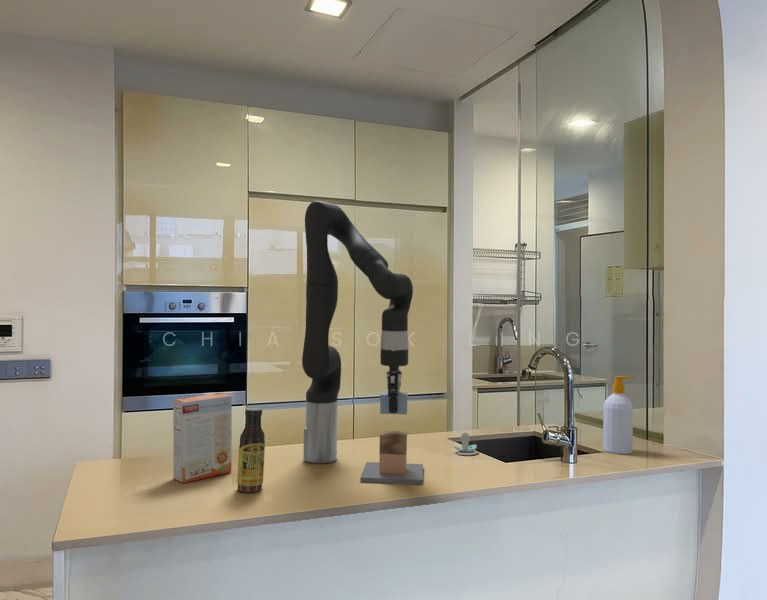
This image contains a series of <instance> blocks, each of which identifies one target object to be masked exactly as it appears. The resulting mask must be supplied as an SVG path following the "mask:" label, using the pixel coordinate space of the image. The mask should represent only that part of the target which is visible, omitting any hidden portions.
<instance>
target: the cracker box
mask: <svg viewBox="0 0 767 600" xmlns="http://www.w3.org/2000/svg"><path fill="white" fill-rule="evenodd" d="M232 398H233V397H232V395H229V394H225V393H217V394H215V393H214V394H206V395H197V396H190V397H184V398H177V399H175V398H174V399H173V402H172V403H173V407H172V408H173V410H172V411H173V415H172V416H173V420H172V421H173V422H172V423H173V428H172V429H173V430H172V432H173V435H172V436H173V448H172V449H173V451H172V454H173V463H172V464H173V467H172V469H173V476H172V477H173V479H174V480H176V481H177V482H179V483H182V484H186V483H191V482H194V481H200V480H202V479H208V478H211V477H212V478H213V477H216V476H220V475H225V474H229V473H231V472H232V440H233V439H232V435H233V434H232V424H233V423H232V419H233V418H232V415H233V414H232V400H233V399H232Z"/></svg>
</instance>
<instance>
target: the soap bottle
mask: <svg viewBox="0 0 767 600" xmlns="http://www.w3.org/2000/svg"><path fill="white" fill-rule="evenodd" d="M627 379H634V380H635V379H636V377H635V376H629V375H627V376H626V375H624V376H621V375H615V376H614V382H613V384H612V391H611V392H612V394H610V395H608V397H606V399H605V400H604V404H603V421H602V422H603V423H602V424H603V431H602V432H603V434H602V435H603V438H602V440H603V441H602V442H603V443H602V448H603V449H602V450H604V451H605V452H607V453H612V454H617V455H628V454H629V455H630V454H632V452H633V435H634V433H633V429H634V424H633V423H634V417H633V416H634V407H633V403H632V401H631V400H630V398H628V396H626V395H625V385H624V382H623V380H627Z"/></svg>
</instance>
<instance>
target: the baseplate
mask: <svg viewBox="0 0 767 600" xmlns="http://www.w3.org/2000/svg"><path fill="white" fill-rule="evenodd" d="M407 452H408V450H407V451H406V455H396V454H380V453H379V461H378V462H377V461H376V462H375V461H374V462H373V461H365V465H364V467H363V470H362V472H361V475H360V481H359V482H360V483H372V484H373V483H377V484H395V483H396V484H397V485H398V484H399V485H400V484H401V485H403V484H404V485H420V484H422V485H423V480H424V478H423V477H424V476H423V475H424V464H423V463H408V462H407V458H408V457H407V456H408V455H407V454H408V453H407Z"/></svg>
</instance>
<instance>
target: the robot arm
mask: <svg viewBox="0 0 767 600" xmlns="http://www.w3.org/2000/svg"><path fill="white" fill-rule="evenodd" d="M304 230H305V231H304V232H305V241H306V242H305V243H306V244H305V245H306V282H305V284H306V286H305V291H306V292H305V299H306V300H305V330H304V331H305V333H304V334H305V335H304V341H303V348H302V349H303V350H302V357H301V365H302V370H303V372H304V373H305V375H306V376H308V378H309V379H311V384H310V386H309V388H308V389H307V391H306V393H305V427H304V428H303V459H302V460H303V462H307V463H312V464H327V463H328V464H329V463H333V462H335V461H336V460H337V459H338V396H339V393H340V390H341V379H342V378H341V377H342V361H341V360H342V358H341V355H340V353H339V351H338V349H336V348H335V347H334V346H332V345H329V344H330V343H329V334H330V327H331V323H332V320H333V318H334V315H335V311H336V309H337V305H338V300H339V299H338V298H339V297H338V295H339V286H338V285H339V279H338V275H337V272H336V269H335V266H334V264H333V262H332V259H331V256H330V253H329V246H328V244H329V243H328V238H329V236H332V237H334V238H335V239H336V240H338V241H339V242H340V243H341V244H342V245H343V246H344V248H345V249H346V250H347V253H348V256H349V258H350V260H351V261H352V263H353V264H354V265H355V266H356V267H357V268H358V269H359V270H360V271H361V273H363V274H364V276H366V277H367V278H368V281H369V282H370V284H371V286H372V287H373V288H374V290H375V292H376V293H377V294H378V295H379V296H380V297H382V298H383V299H385V300H389V305H388V307H387V308H385V309H383V312H382V313H381V333H380V365H382V366H383V367H384V366H385V367H388V369H389V370H388V371H387V372H386V375H385V376H386V389H387V392H388V397H389V412H390V413H397V405H398V392H401V391H400V390H401V386H402V378H403V372H402V371H401V369H400V367H406V366H408V365H409V331H408V327H409V326H408V325H409V324H408V321H409V319H408V318H409V317H408V315H409V311H410V308H411V304H412V299H413V296H414V295H413V294H414V293H413V292H414V286H413V283H412V280H411V278H410V277H409V276H408V275H406V274H404V273H394V272H392V271H391V270H390V269H389V263H388V261H387V259H385V257H384V256H383V255H382V254H381V253H380V252H379V251H378V250H376V249H375V248H374V247H373V246H372V245H371V244H370V243H369V242H368V241H367V240H366V239H365V237H364V236H363V235H362V234H361V233H360V232H359V230H358V229H357V228H356V227H355V225H354V224H353V223H352V221H351V219H350V218H349V217H348V215H347V214H346V212H345V211H344V210H343V209H342V208H341V207H340V206H339V205H337V204H335V203H334V204H333V203H332V202H326V201H322V200H314V201H311V202H310V203H309V205H308V206H307V207H306V210H305V215H304ZM391 392H396V393H391Z"/></svg>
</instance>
